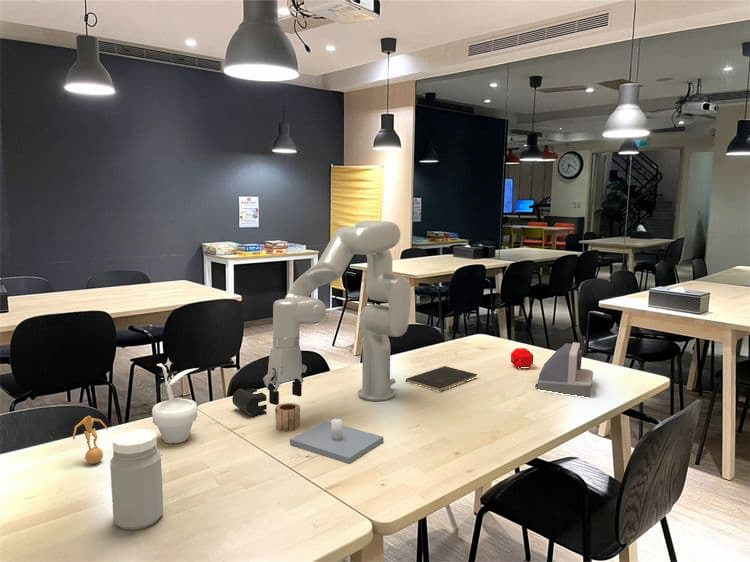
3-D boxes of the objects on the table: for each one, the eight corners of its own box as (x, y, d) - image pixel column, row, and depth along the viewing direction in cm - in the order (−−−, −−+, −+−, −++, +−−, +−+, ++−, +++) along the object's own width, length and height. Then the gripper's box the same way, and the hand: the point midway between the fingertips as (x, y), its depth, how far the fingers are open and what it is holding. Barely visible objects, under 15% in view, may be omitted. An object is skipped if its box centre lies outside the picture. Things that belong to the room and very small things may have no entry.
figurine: (80, 471, 137) (76, 424, 135) (71, 463, 141) (67, 417, 139) (114, 460, 143) (112, 415, 141) (105, 453, 147) (102, 409, 145)
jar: (102, 526, 113) (96, 441, 111) (138, 502, 122) (134, 424, 120) (139, 536, 110) (135, 449, 107) (174, 511, 119) (170, 431, 117)
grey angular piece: (587, 401, 189) (590, 357, 187) (527, 389, 200) (529, 349, 198) (600, 384, 207) (602, 345, 205) (544, 375, 218) (546, 337, 216)
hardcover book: (477, 380, 213) (477, 374, 213) (439, 394, 196) (440, 387, 196) (443, 371, 224) (443, 365, 224) (405, 383, 208) (405, 377, 207)
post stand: (326, 425, 166) (326, 404, 165) (383, 441, 155) (383, 419, 154) (290, 444, 153) (289, 421, 152) (349, 463, 142) (349, 439, 141)
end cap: (232, 410, 178) (231, 390, 177) (252, 405, 183) (251, 385, 182) (247, 419, 171) (246, 398, 170) (267, 414, 175) (267, 393, 174)
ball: (508, 365, 231) (509, 347, 230) (527, 364, 232) (528, 346, 231) (515, 370, 223) (516, 352, 222) (534, 370, 224) (535, 351, 223)
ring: (287, 420, 170) (286, 401, 169) (304, 425, 166) (304, 406, 165) (270, 427, 164) (270, 408, 163) (288, 433, 160) (288, 413, 159)
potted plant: (154, 451, 148) (150, 359, 145) (153, 435, 158) (148, 349, 155) (204, 443, 153) (201, 354, 150) (199, 428, 163) (196, 344, 160)
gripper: (296, 335, 171) (295, 390, 173) (255, 345, 156) (254, 404, 158) (315, 339, 167) (314, 394, 169) (274, 349, 152) (274, 410, 154)
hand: (285, 399), depth 163 cm, fingers open, 9 cm apart
